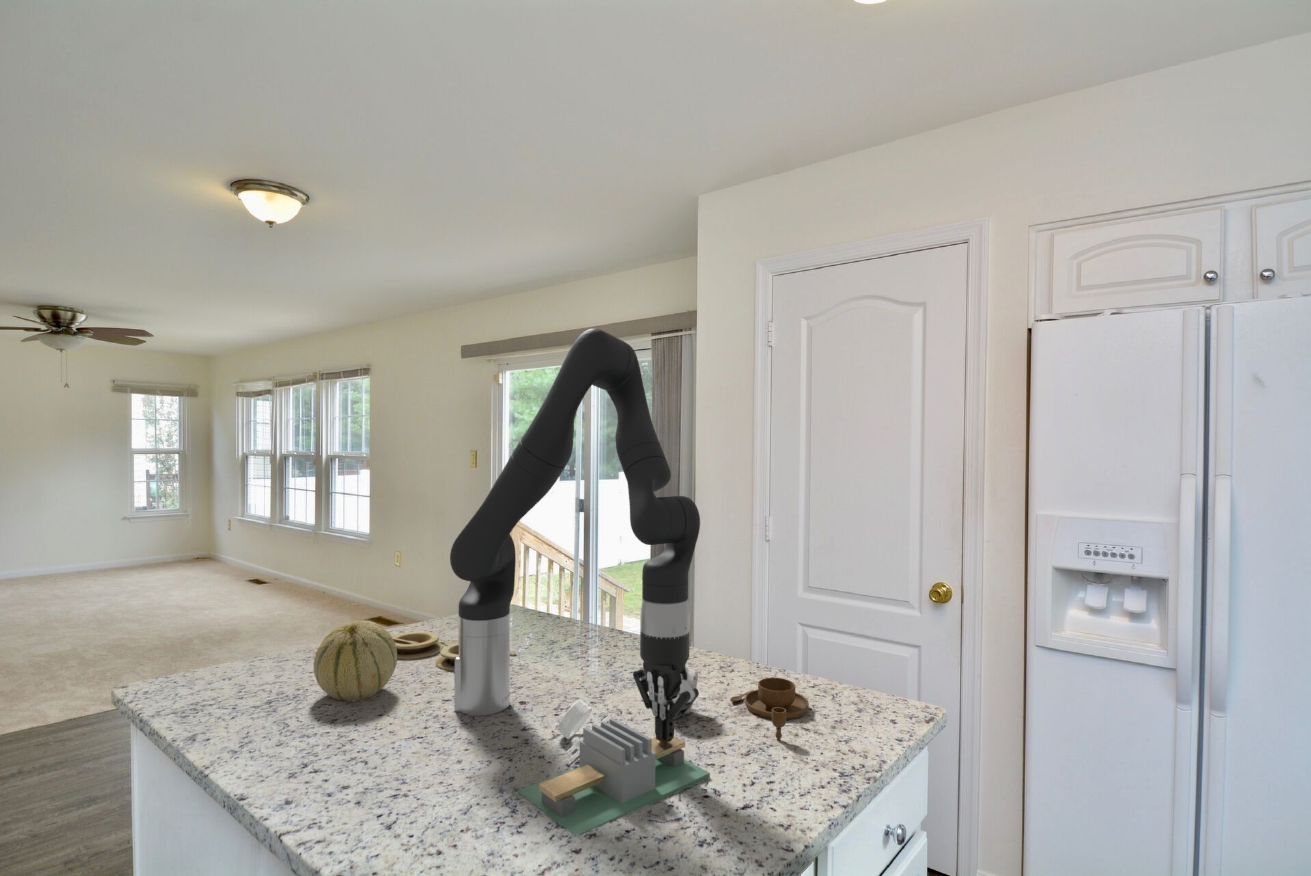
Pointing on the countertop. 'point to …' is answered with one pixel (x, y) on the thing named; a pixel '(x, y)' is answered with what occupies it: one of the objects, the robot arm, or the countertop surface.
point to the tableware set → (428, 648)
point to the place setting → (775, 702)
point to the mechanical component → (691, 681)
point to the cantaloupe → (355, 660)
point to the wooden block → (666, 747)
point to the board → (611, 808)
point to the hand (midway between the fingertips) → (664, 740)
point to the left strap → (571, 783)
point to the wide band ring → (575, 724)
